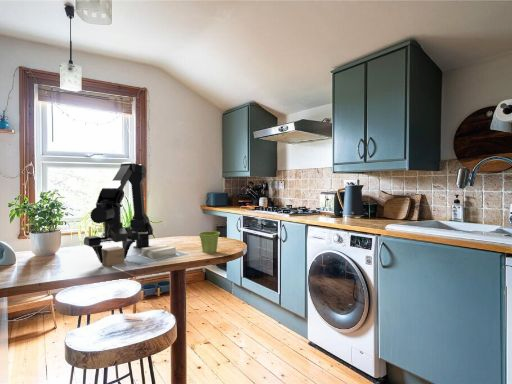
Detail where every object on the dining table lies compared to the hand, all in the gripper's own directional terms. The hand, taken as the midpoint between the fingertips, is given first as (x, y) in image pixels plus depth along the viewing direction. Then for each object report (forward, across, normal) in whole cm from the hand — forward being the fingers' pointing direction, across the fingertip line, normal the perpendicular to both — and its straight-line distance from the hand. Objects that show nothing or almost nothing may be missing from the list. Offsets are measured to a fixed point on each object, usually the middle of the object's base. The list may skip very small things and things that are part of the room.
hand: (113, 260), depth 118 cm
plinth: (+1, +18, -2) cm, 18 cm away
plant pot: (+2, +37, -12) cm, 39 cm away
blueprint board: (+1, +16, -2) cm, 16 cm away
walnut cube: (+1, 0, 0) cm, 1 cm away
